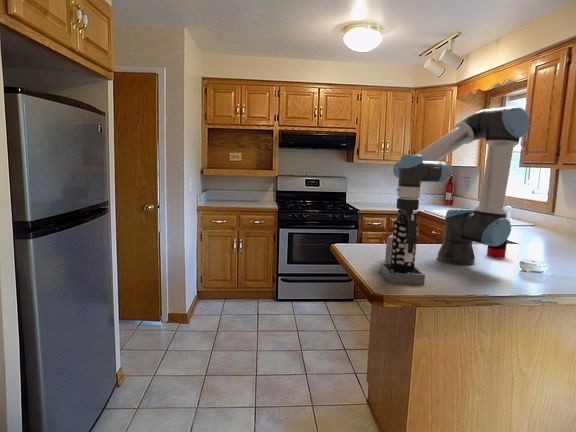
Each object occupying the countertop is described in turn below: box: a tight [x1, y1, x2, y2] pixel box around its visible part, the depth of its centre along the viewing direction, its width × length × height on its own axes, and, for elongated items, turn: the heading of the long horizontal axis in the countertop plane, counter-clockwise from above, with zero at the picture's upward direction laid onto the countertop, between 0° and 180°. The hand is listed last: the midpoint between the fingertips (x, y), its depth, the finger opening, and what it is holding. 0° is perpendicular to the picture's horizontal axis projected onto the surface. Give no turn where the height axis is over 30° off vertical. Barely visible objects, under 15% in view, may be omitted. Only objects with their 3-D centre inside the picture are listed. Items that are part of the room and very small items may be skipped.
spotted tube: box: [390, 219, 419, 274], centre depth 137 cm, size 8×8×20 cm
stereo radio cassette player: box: [384, 231, 419, 264], centre depth 156 cm, size 21×8×20 cm, turn 150°
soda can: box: [486, 239, 508, 259], centre depth 178 cm, size 8×8×12 cm
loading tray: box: [379, 263, 426, 285], centre depth 139 cm, size 13×13×4 cm
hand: (403, 256), depth 138 cm, fingers open, 12 cm apart
